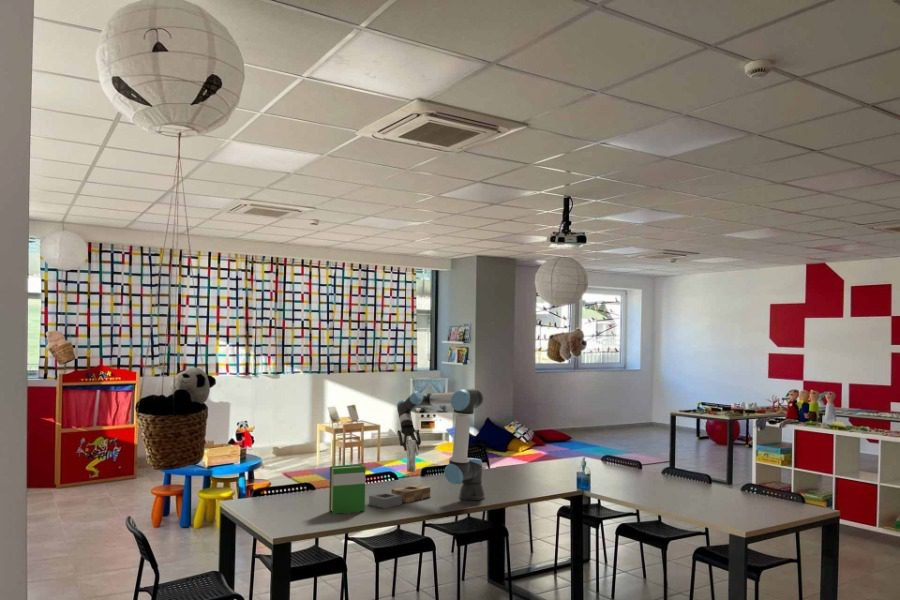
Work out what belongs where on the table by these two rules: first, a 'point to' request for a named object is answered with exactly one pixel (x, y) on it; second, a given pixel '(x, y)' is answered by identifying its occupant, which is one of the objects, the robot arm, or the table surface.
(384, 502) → the socket
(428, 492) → the tan hollow box
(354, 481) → the hardback book
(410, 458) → the translucent white cylinder
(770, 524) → the table surface
